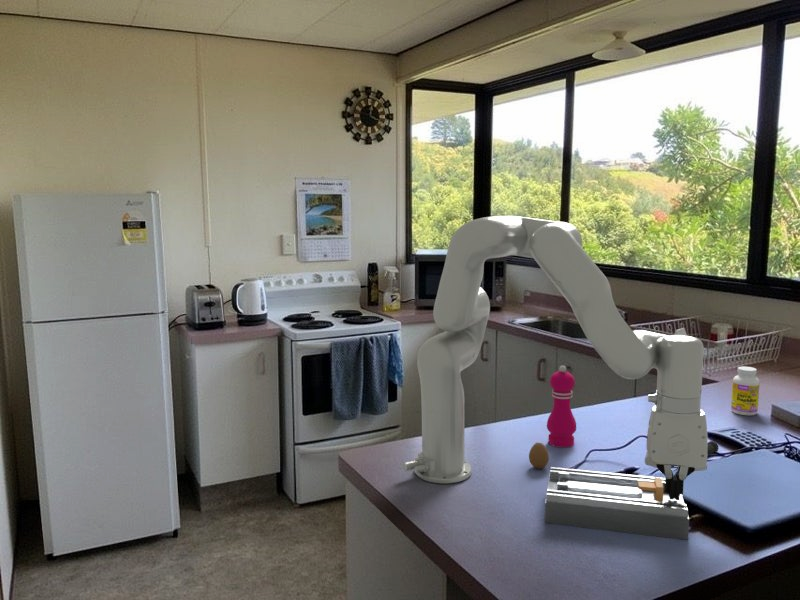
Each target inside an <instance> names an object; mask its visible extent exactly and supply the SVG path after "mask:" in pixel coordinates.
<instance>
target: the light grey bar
mask: <svg viewBox="0 0 800 600" xmlns="http://www.w3.org/2000/svg"><path fill="white" fill-rule="evenodd" d="M561 482H562V483H568V491H574V492H584V493H593V494H603V495H612V496H622V497H631V498H641V499H642V491H641V490H639V488H633V487H623V486H613V485H603V484H594V483H584V482H574V481H566V480H564V479H562V480H561Z"/></svg>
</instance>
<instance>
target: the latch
mask: <svg viewBox="0 0 800 600" xmlns="http://www.w3.org/2000/svg"><path fill="white" fill-rule="evenodd" d="M653 477H654V483H652V482H642V481H638V487H639V490H649V491H654V495H655V500H656V501H663V489H664V487H663V483H662V479H661V478H662V477H659V478H658V476H653Z"/></svg>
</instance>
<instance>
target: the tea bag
mask: <svg viewBox="0 0 800 600" xmlns="http://www.w3.org/2000/svg"><path fill="white" fill-rule="evenodd" d="M673 335H685V336H688V334H687V331H686V327H682V328H679V329H675V331H674V334H673Z"/></svg>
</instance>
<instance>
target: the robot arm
mask: <svg viewBox="0 0 800 600" xmlns="http://www.w3.org/2000/svg"><path fill="white" fill-rule="evenodd" d="M508 256H516V257H517V256H518V257H524V258H530V259H534V261H535V262H536V264H537V265H538V266H539V267H540V269H541V270H542V271H543V272H544V274H545V275H546V276H547V278H549V280H550V281H551V282H552V283H553V285H554V286H555V288H557V290H558V291H559V293H560V294H561V295H562V296H563V297H564V299H565V301H567V302H568V304H569V305H570V307H571V309H572V311H573V314H574V316H575V318H576V320H577V322H578V324H579V326H580V327H581V329H582V331H583V334H584V335H585V337H586V339H587V340H588V341H589V343H590V345H591V346H592V348H593V349H594V350H595V351H596V352H597V354H598V355H599V356H600V357H601V359H602V360H603V362H605V364H606V365H607V366H608V368H609V369H610V370H612V371H613V372H614V373H615V374H616V375H618V376H619V377H621V378H623V379H626V380H638V379H641V378H643V377H644V376H646V375H648V373H650V372H651V370H652V369H656V371H657V377H656V380H657V381H656V390H655V392H654V393H653V394H648V396H647V401H648V403H652V404H654V405H653V406H652V409H651V412H650V415H649V420H648V427H647V428H648V429H647V434H646V435H647V436H646V454H645V456H644V464H645V465H646V466H648V467H653V468H656V469H659V470H660V471H661V472H662V474H663V475H664V476H665V477H664V478H665V492H666V493H668V494H669V498H670V499H671V500H673V499H674V498H675V499H676V500H679V496H680V494H682V495H684V483H685V482H684V481H685V480H686V479H687V478H688V476H690V475H692V473H694V472H701V471H707V470H708V466H707V462H708V456H707V446H708V445H707V443H708V424H707V417H706V416H707V415H706V413H705V411H704V410H703V409H701V408H702V407H701V405H702V388H703V387H702V384H703V372H704V370H703V369H704V368H703V366H704V352H705V351H704V348H705V347H704V343H703V342H702V340H701V339H699V338H697V337H694V336H692V335H691V336H690V335H687V336H685V335H674V334H671V335H670V334H669V335H668V334H663V333H657V332H653V331H649V330H644V329H634V330H633V329H632V328H631V327H630V326H629V324H628V323H627V321H625V319H624V318H623V316H622V314H621V313H620V311H619V310H618V307H617V306H616V304H615V301H614V299H613V295H612V294H613V293H612V287H611V284H610V282H609V280H608V278H607V276H606V275H605V274H604V273H603V271H602V270H601V269H600V268H599V267H598V265H596V263H595V261H593V259H592V258H591V257H590V256H589V254H588V253H587V252H586V251H585V249H584V248H583V238H582V234H581V232H580V231H579V230H578V229H577V227H576V226H574V225H573V224H571V223H568V222H567V221H566V222H565V221H556V220H548V219H542V218H541V219H540V218H533V217H525V216H518V215H494V216H493V215H491V216H486V217H485V216H484V217H480V218H476V219H472V220H469V221H467V222H466V223H463V224H461V226H459V227H458V229H456V231H455V232H454V233H453V235H452V237H451V239H450V241H449V244H448V247H447V252H446V256H445V261H444V265H443V269H442V273H441V276H440V280H439V284H438V289H437V293H436V297H435V301H434V304H433V314H432V315H433V316H432V317H433V320H434V323H435V324H436V325H437V327H438V328H439V329H440V330H442V331H443V332H441V333H438V334H436V335H434V336H432V337H430V338H428V339H427V340H426V341H424V342H423V343H422V345H421V346H420V348H419V349H418V353H417V358H416V362H417V363H416V365H417V371H418V376H419V382H420V395H421V396H420V397H421V398H420V400H421V405H420V406H421V448H422V450H421V452H418V453H417V457H416V458H415V459H414V460H409V461H405V462H403V463H402V469H403V471H404V472H409V471H412V470H413V472H414V474H416V476H417V477H418V478H420V479H422V480H424V481H426V482H429V483H434V484H455V483H460V482H462V481H465V480H467V479H468V478H469V477H471V475H472V466H471V464H470V463H469V462H468V461H466V460H465V459H466V458H465V457H466V456H465V391H464V390H465V389H464V386H463V382H462V377H461V372H462V371H463V370H465V369H466V368H469V367H470V366H471V365H473V364H474V363H475V361H476V360H477V358H478V357H479V354H480V351H481V347H482V344H483V341H484V337H485V332H486V329H487V324H488V321H489V317H490V312H491V304H490V303H491V302H490V298H489V296H488V294H487V292H486V291H485V290H484V289H483V287H482V286H481V285H482V281H483V277H484V273H485V272H484V269H485V267H484V266H485V262H486V260H489V259H497V258H503V257H508ZM671 465H673V466H678V469H677V471H676V472H675V474H674V473H673V472H674V471H672V470H671Z"/></svg>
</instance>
